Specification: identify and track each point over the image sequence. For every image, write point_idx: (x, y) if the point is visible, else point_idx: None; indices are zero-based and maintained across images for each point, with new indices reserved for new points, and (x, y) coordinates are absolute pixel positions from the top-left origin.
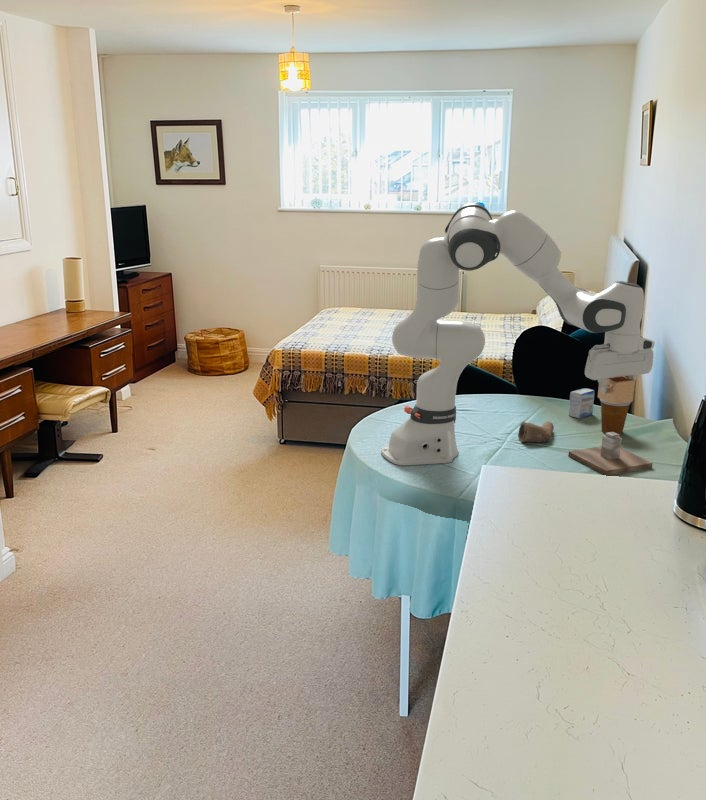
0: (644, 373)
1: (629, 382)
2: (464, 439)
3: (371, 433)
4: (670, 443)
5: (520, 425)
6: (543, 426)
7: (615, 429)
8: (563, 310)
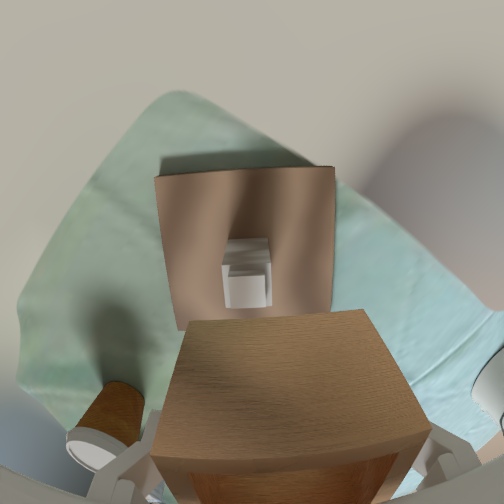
0: (25, 478)
1: (239, 445)
2: (429, 417)
3: (491, 431)
4: (36, 303)
5: None
6: None
7: (122, 392)
8: None
